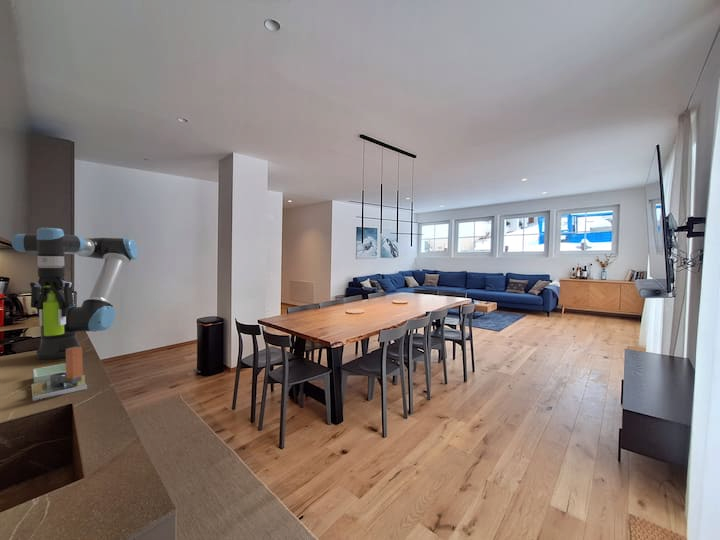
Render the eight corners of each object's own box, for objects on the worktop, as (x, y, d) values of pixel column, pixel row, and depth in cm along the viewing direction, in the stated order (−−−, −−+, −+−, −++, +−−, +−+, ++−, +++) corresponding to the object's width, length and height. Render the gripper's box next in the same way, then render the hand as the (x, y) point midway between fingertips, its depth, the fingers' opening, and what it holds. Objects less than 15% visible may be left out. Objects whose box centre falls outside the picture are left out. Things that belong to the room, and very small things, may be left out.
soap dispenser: (37, 337, 119) (36, 285, 118) (50, 332, 126) (49, 284, 125) (56, 336, 121) (55, 285, 120) (67, 332, 127) (66, 283, 127)
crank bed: (31, 388, 107) (31, 377, 107) (81, 377, 117) (81, 367, 117) (32, 401, 98) (32, 388, 98) (87, 388, 108) (86, 377, 107)
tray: (33, 378, 116) (33, 369, 116) (75, 370, 125) (74, 361, 125) (34, 387, 108) (34, 377, 108) (78, 377, 117) (78, 368, 117)
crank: (46, 385, 106) (45, 347, 105) (61, 380, 110) (60, 344, 110) (71, 388, 104) (70, 350, 103) (85, 383, 108) (84, 346, 107)
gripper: (14, 267, 117) (17, 327, 118) (70, 267, 120) (72, 326, 121) (32, 266, 125) (34, 323, 126) (84, 267, 127) (86, 322, 128)
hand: (53, 324), depth 123 cm, fingers closed on soap dispenser, 6 cm apart
